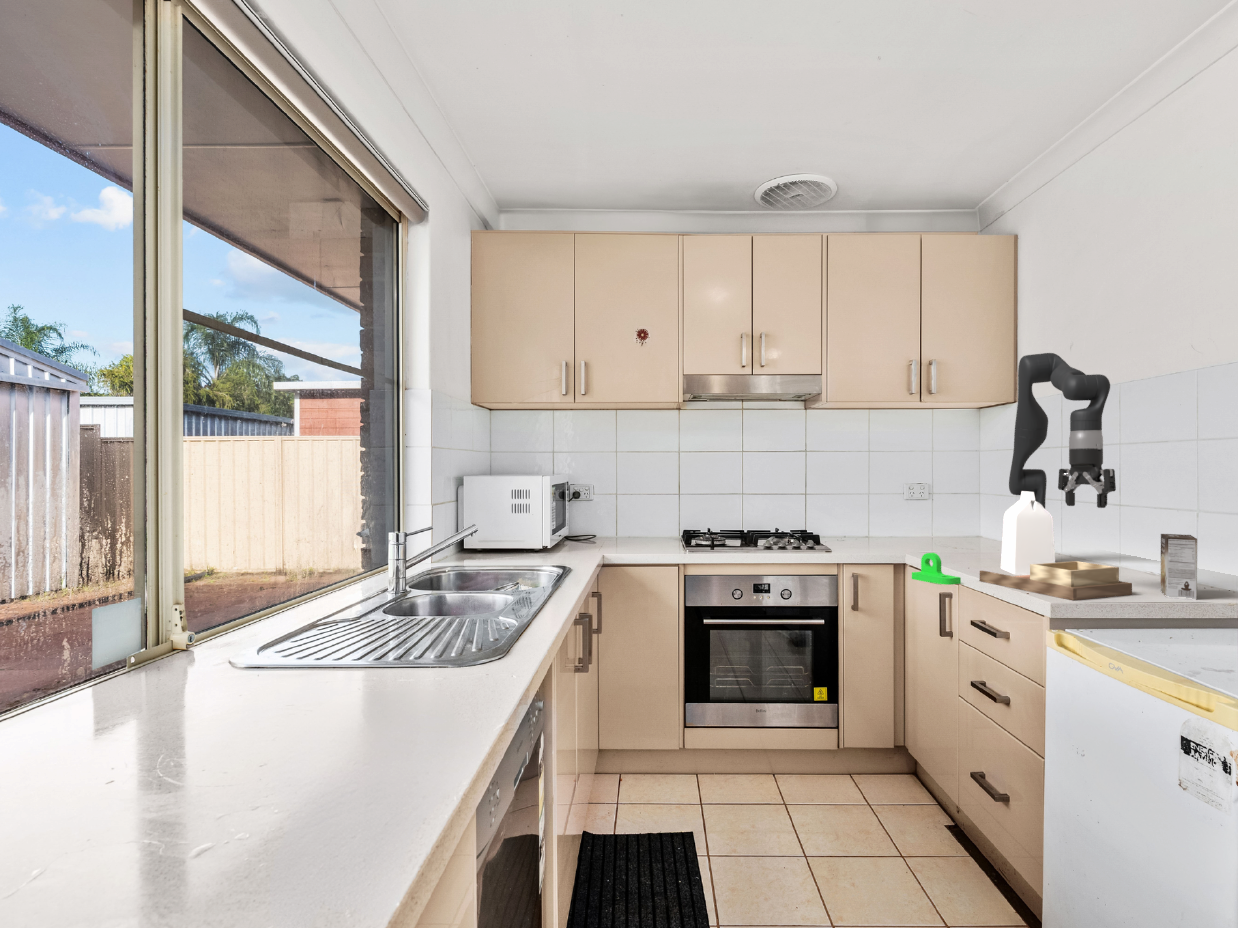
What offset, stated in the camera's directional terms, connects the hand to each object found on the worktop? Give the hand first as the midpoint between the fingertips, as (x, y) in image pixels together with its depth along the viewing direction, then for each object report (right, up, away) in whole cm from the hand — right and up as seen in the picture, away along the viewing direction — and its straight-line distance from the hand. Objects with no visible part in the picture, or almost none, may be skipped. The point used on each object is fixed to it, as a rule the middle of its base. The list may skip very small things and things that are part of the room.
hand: (1085, 506), depth 175 cm
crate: (-3, -22, 0) cm, 22 cm away
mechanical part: (-33, -24, +16) cm, 44 cm away
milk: (+4, -23, +31) cm, 39 cm away
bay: (-5, -23, +6) cm, 25 cm away
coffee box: (+21, -24, -5) cm, 32 cm away
